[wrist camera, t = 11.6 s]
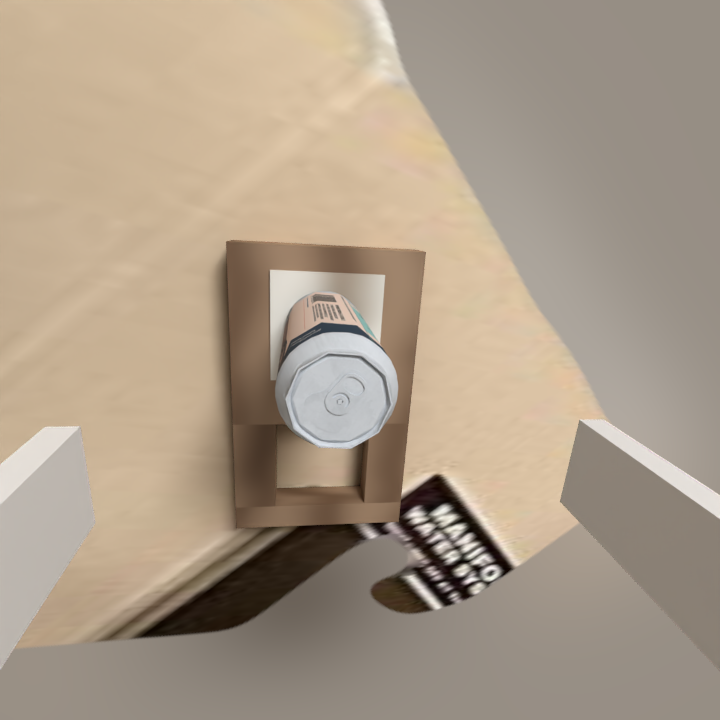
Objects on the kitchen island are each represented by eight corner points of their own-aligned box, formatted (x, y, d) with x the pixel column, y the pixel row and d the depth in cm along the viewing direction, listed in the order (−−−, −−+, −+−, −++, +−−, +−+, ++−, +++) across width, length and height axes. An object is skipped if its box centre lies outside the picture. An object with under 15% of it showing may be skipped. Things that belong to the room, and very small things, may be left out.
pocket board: (240, 509, 33) (235, 530, 31) (231, 240, 27) (225, 241, 25) (392, 503, 35) (399, 523, 32) (416, 249, 29) (426, 252, 26)
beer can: (269, 331, 27) (245, 410, 15) (319, 273, 26) (334, 311, 15) (327, 377, 28) (345, 481, 17) (376, 323, 27) (430, 393, 16)
